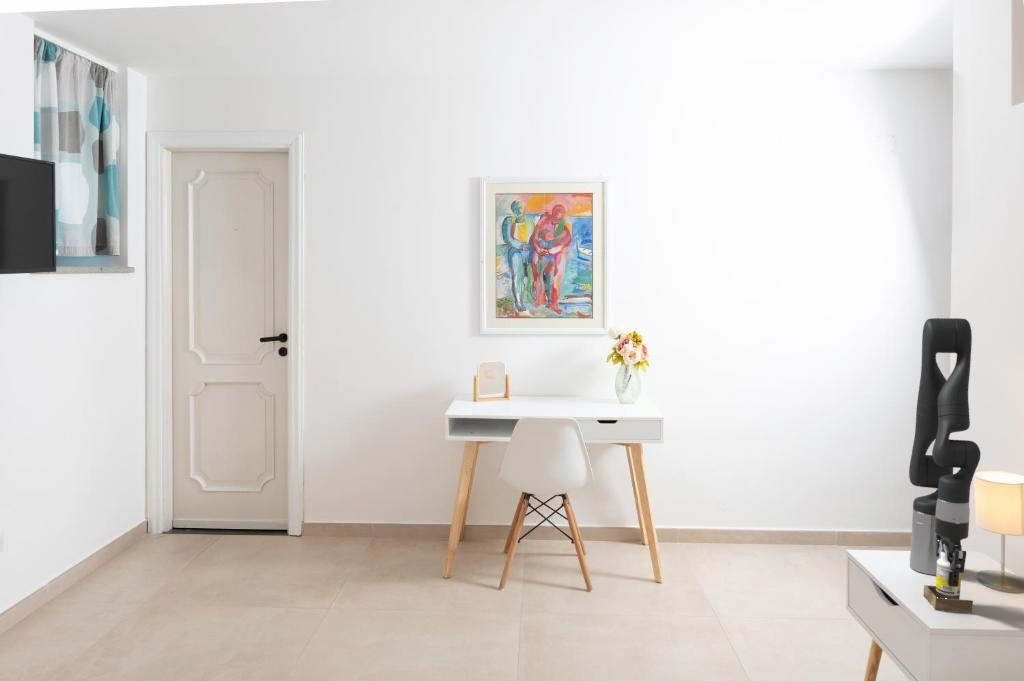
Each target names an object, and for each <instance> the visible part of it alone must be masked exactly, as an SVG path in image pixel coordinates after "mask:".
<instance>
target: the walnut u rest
mask: <svg viewBox="0 0 1024 681" xmlns="http://www.w3.org/2000/svg"><path fill="white" fill-rule="evenodd" d="M960 594H961V593H960ZM960 594H959V595H957V596H947V595H943V594H941V593H939V592H938V591H937V590H936V585H926V584H925V585H924V586H923V597H924V599H925V598H926V599H927V600H928V601H927V600H926V599H925V600H926V601H927V602H928V603H929V605H930V606H931V605H932V606H933V607H932V606H931V607H932V608H933V609H934V610H935V611H942V610H944V612H956V613H970V614H971V613H973V606H974V604H973V603H974V600H972V599H971V600H970V599H960V598H961V595H960ZM937 597H938V598H937ZM945 598H947V599H945Z"/></svg>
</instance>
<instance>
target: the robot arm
mask: <svg viewBox="0 0 1024 681" xmlns="http://www.w3.org/2000/svg"><path fill="white" fill-rule="evenodd" d="M921 335H922V339H921V367H920V368H921V370H920V380H919V386H918V392H917V401H916V402H917V404H916V413H915V414H916V415H915V428H914V429H915V430H914V439H913V444H912V451H911V456H910V462H909V468H908V478H909V481H910V483H911V485H913V486H914V487H920V488H927V489H928V488H930V489H936V490H935V491H934V492H932V493H929V494H927V495H923V496H919V497H916V498H915V499H914V500H913V502H912V520H911V521H912V522H911V538H910V552H909V553H910V556H909V557H910V558H909V568H910V569H911V570H913V571H915V572H917V573H920V574H921V573H922V574H926V575H932V576H936V573H937V560H938V559H940V558H941V552H944V553H945V557H946V562H948V567H949V574H948V585H949V586H952V587H957V586H958V583H959V573H961V574H963V573H964V572H965V566H966V565H965V564H966V559H967V551H966V550H963V548H962V547H963V545H962V544H961V543H962V542H961V541H962V540H966V539H967V538H969V528H970V514H971V512H970V511H971V510H970V497H971V496H970V494H971V486H972V482H973V478H974V475H975V472H976V470H977V468H978V466H979V463H980V461H981V455H982V454H981V453H982V452H981V450H980V447H979V445H978V444H977V443H976V442H974V441H972V440H963V439H950V435H951V434H953V433H959V432H965V431H968V430H969V429H970V425H971V421H970V404H969V385H970V384H969V383H970V374H971V364H972V363H971V362H972V360H971V359H972V356H971V355H972V343H973V342H972V340H973V337H972V335H973V334H972V327H971V324H970V322H969V320H968V319H966V318H960V317H959V318H954V317H953V318H949V317H947V318H946V317H944V318H942V317H941V318H940V317H935V318H934V317H932V318H928V319H927V320H925V322H924V324H923V328H922V334H921ZM939 353H940V354H956V359H955V360H956V361H955V365H954V368H953V370H952V372H951V373H950V375H949V376H948V378H947V379H946V377H945V375H944V374H943V373H942V371H941V369H940V366H939V364H938V362H937V354H939ZM933 443H934V444H933ZM932 444H933V447H932V452H931V454H932V455H930V454H927V452H928V450H929V448H930V447H931V445H932ZM955 468H956V469H958V471H957V472H956V473H954V469H955ZM949 557H950V558H953V559H950V558H949ZM956 565H957V567H956ZM960 565H961V566H960Z"/></svg>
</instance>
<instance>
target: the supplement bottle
mask: <svg viewBox="0 0 1024 681" xmlns="http://www.w3.org/2000/svg"><path fill="white" fill-rule="evenodd" d="M949 558H950V557H949ZM950 559H953V558H950ZM960 566H961V565H960ZM956 567H957V565H956ZM948 574H949V567H948V562H946V557H945V553H944V552H941V558H940V559H938V560H937V573H936V575H935V576H936V578H935V586H936V590H937V591H938V592H939V593H941V594H943V595H947V596H957V595H959V594H961V585H962V584H961V583H962V573H959V583H958V586H957V587H952V586H949V585H948Z"/></svg>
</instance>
